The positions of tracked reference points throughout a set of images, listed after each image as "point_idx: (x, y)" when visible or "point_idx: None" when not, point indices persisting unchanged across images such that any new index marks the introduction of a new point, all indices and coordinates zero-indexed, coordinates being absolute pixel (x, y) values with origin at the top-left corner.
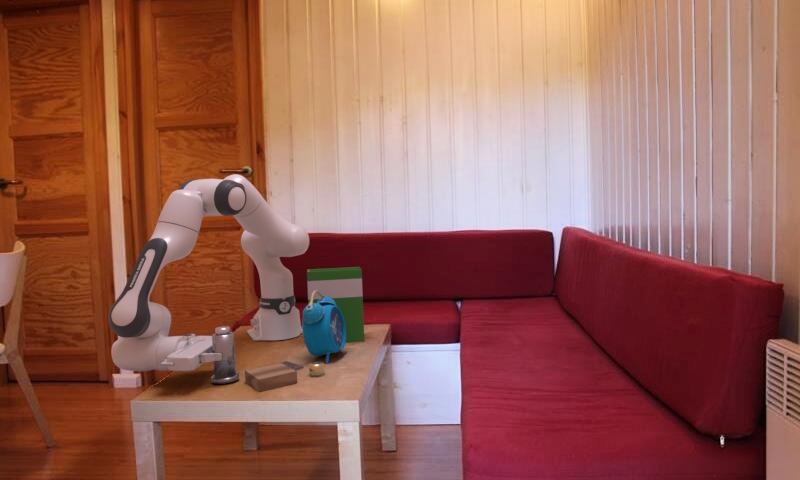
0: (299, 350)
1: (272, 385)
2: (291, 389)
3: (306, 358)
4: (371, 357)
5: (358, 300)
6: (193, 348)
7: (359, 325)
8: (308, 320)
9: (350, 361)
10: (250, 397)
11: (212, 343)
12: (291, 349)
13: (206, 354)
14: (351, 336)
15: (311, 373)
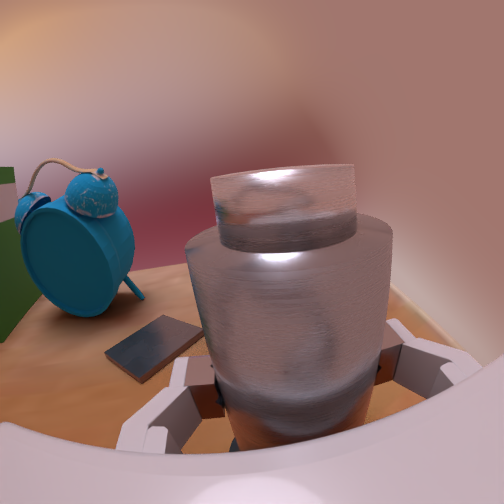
0: (19, 352)
1: None
2: None
3: (86, 332)
4: (133, 271)
5: None
6: (482, 501)
7: None
8: (110, 206)
9: (144, 281)
10: (401, 317)
11: (374, 334)
12: (2, 365)
13: (460, 350)
14: (31, 291)
15: None
